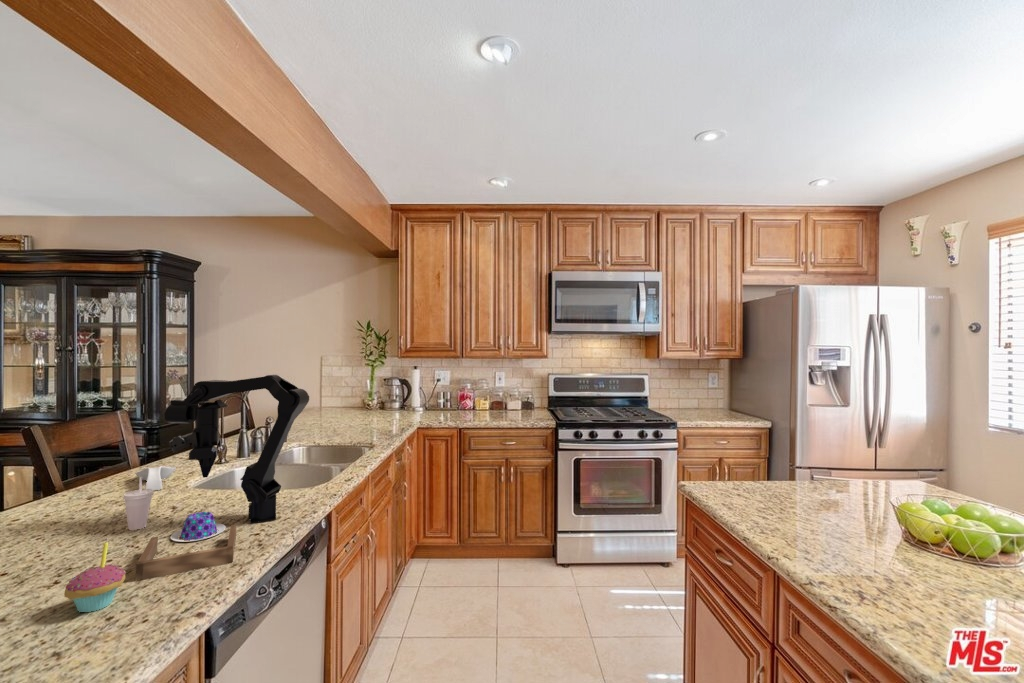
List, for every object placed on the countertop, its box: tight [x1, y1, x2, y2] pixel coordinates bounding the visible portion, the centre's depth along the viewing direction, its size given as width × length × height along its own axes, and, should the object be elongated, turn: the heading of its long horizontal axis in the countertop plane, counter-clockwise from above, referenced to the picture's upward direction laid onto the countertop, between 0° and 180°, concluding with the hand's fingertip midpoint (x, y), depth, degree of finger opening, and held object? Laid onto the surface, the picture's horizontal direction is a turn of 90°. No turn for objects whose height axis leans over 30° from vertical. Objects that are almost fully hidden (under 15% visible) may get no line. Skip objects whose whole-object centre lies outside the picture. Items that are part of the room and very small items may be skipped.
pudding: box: [170, 511, 226, 543], centre depth 117 cm, size 12×12×5 cm
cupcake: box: [64, 537, 126, 613], centre depth 84 cm, size 9×8×12 cm
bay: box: [134, 524, 237, 581], centre depth 104 cm, size 17×15×4 cm
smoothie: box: [122, 476, 154, 531], centre depth 120 cm, size 6×6×14 cm
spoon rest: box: [135, 465, 176, 491], centre depth 160 cm, size 24×12×7 cm, turn 38°
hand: (205, 477), depth 128 cm, fingers closed
